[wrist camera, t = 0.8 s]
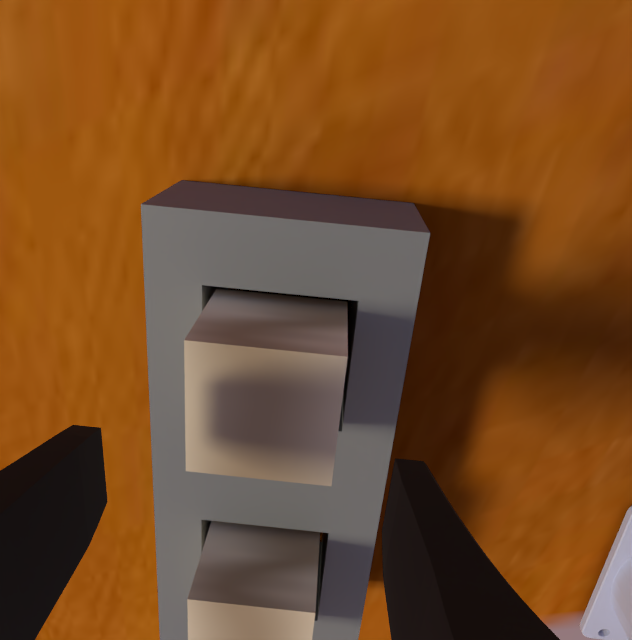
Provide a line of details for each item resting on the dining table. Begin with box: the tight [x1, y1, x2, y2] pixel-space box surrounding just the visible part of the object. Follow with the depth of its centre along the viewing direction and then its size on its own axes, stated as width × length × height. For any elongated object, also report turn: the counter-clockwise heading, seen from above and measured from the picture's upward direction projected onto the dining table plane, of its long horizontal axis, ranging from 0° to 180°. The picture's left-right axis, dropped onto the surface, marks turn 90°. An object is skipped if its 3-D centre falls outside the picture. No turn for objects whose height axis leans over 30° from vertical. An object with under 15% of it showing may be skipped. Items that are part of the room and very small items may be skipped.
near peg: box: [184, 289, 348, 486], centre depth 16 cm, size 4×4×4 cm
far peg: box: [187, 521, 320, 640], centre depth 19 cm, size 4×4×4 cm
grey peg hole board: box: [141, 180, 430, 640], centre depth 20 cm, size 8×18×4 cm, turn 175°
